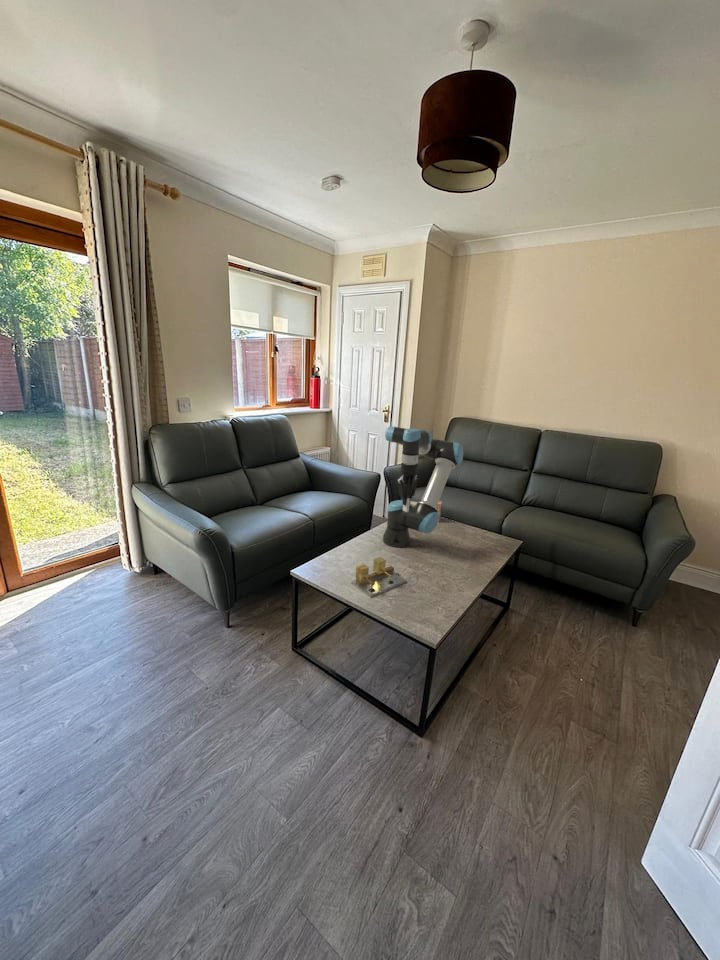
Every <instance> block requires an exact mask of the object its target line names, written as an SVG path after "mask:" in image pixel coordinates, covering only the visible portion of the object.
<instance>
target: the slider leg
mask: <svg viewBox="0 0 720 960" xmlns="http://www.w3.org/2000/svg"><path fill="white" fill-rule="evenodd" d="M386 562H387V561H386V559H385V558H383V557H382V556H378V557H375V558H373V565H372V567H373V569H372V571H373V573H374V572H375V573H377V574H381V573H383V572H384V573H385V574H387V575H388V576H389V581H388V582H390V577H392V575H390V574H389V573H387V572H386V571H385V568H386Z"/></svg>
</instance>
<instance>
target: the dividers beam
mask: <svg viewBox="0 0 720 960" xmlns="http://www.w3.org/2000/svg"><path fill="white" fill-rule="evenodd" d="M369 571H370V570H369V566H368V565H366V564H365V563H362V564H359V565H356V567H355V580H356V584H357V585H358V586H359V585H362V584H364V583H367V582H370V583H371V589H373V585H374V584H375V583H373V582H372V580H374V579H377V578H379V577H382V576H384V575H387V574H385V573H384V572H383V573H381V574H377V573H375V572H374V571H373V572H372V573H370V574H369ZM385 571H386V572H387V573H392V572H394V573H395V567H394V566H392V565H390V566H388V567H385Z"/></svg>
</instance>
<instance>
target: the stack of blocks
mask: <svg viewBox="0 0 720 960" xmlns="http://www.w3.org/2000/svg"><path fill="white" fill-rule="evenodd" d="M418 502H419V501H413V500H410V503H411V506H413V507H415V506H416V504H417V503H418ZM442 505H443V501H441V500H439V502H438V504H437V507H436V509H437V511H438V512H437V513H438V515H439V520H438V523H440V520H441V514H442Z"/></svg>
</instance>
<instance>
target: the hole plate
mask: <svg viewBox="0 0 720 960" xmlns="http://www.w3.org/2000/svg"><path fill="white" fill-rule="evenodd" d="M389 574H390V575H392V577H390V582H388V581H389V576H388V575H384V576H382V577H379V578H377V579H374V580H372V582H373V583H375V584H374V585H373V589H371V583H370V582H367V583H364V584H362V585H359V586H358V585H357V584H356V579H354V580H352V581H351V584H352V585H353V586H355V588H357V589H358V590H360V591H361V592H362V593H364V594H365V595H366V596H368V597H369V598H372V597H375V596H377V595H379V594H382V593H384V592H387V591H389V590H390V589H393V588H395V587H398V586H400V585H402V584H405V583H406V582H407V579H405V578H404V577H402V576H400V575H398V574H397V573H395V571H394V572H392V573H389Z"/></svg>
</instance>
